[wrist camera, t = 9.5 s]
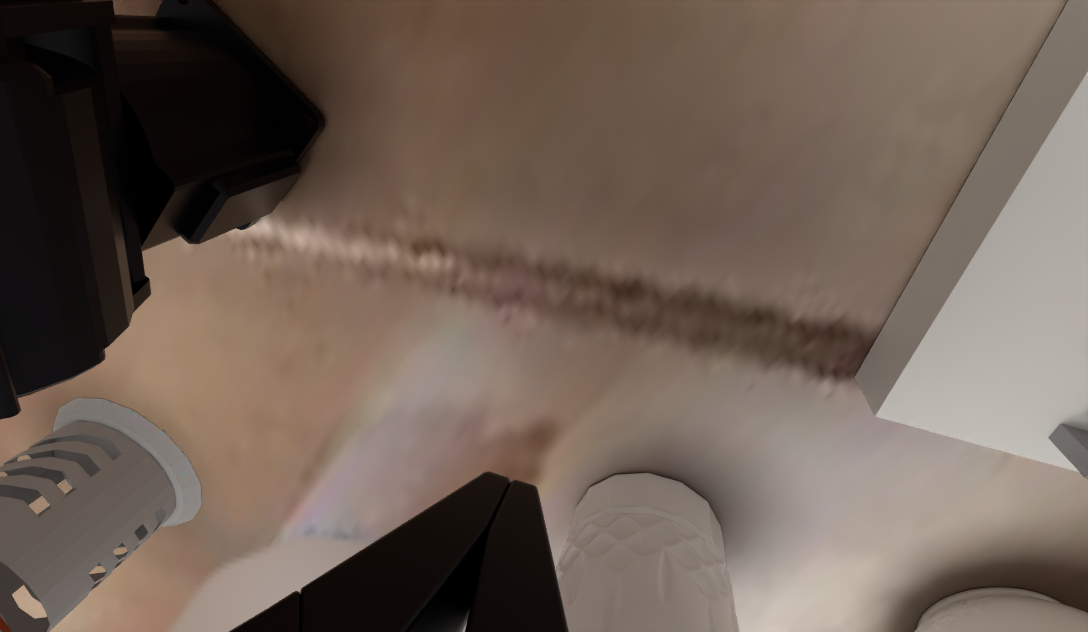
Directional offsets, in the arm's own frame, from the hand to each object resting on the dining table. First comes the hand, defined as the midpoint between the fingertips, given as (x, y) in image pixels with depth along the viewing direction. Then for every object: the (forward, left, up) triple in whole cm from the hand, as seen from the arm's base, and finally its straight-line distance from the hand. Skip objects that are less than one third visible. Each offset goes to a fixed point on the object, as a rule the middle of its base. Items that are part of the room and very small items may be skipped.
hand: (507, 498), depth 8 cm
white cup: (+12, -8, -13) cm, 20 cm away
